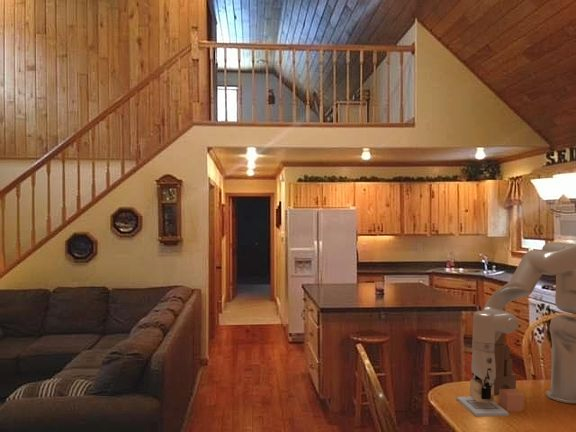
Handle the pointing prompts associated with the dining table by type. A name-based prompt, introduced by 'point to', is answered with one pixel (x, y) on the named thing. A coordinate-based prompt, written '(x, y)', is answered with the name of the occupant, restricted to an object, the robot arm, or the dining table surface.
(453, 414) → the dining table surface
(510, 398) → the rust block
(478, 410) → the board
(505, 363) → the wooden toy
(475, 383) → the birch block
